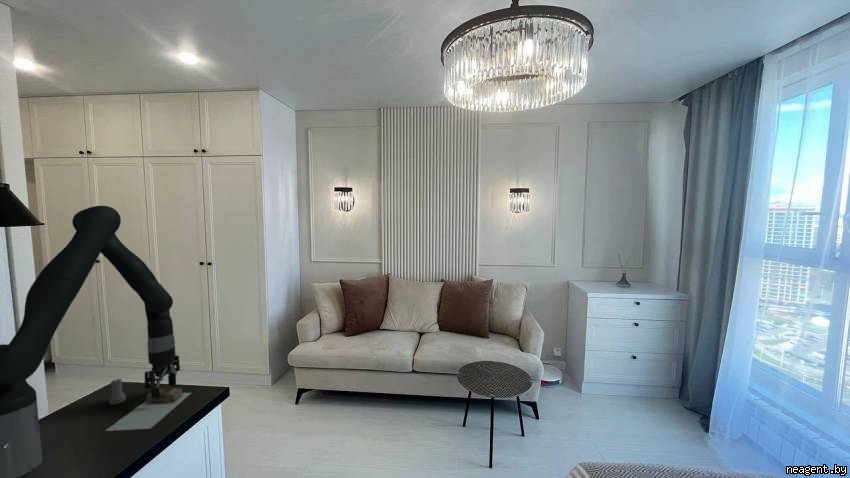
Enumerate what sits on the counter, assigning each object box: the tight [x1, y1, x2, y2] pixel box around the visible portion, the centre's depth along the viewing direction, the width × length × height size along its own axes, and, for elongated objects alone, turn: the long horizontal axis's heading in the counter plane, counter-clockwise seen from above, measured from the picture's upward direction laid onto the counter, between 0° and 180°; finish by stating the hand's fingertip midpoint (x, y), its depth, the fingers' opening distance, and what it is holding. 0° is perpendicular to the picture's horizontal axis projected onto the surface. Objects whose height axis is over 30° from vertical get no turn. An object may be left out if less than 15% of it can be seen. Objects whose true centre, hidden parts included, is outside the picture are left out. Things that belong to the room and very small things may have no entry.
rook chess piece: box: [108, 378, 127, 405], centre depth 118 cm, size 4×4×8 cm
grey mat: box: [105, 392, 192, 432], centre depth 113 cm, size 21×13×1 cm, turn 5°
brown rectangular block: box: [145, 387, 183, 404], centre depth 119 cm, size 9×4×3 cm, turn 95°
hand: (164, 391), depth 119 cm, fingers open, 8 cm apart
